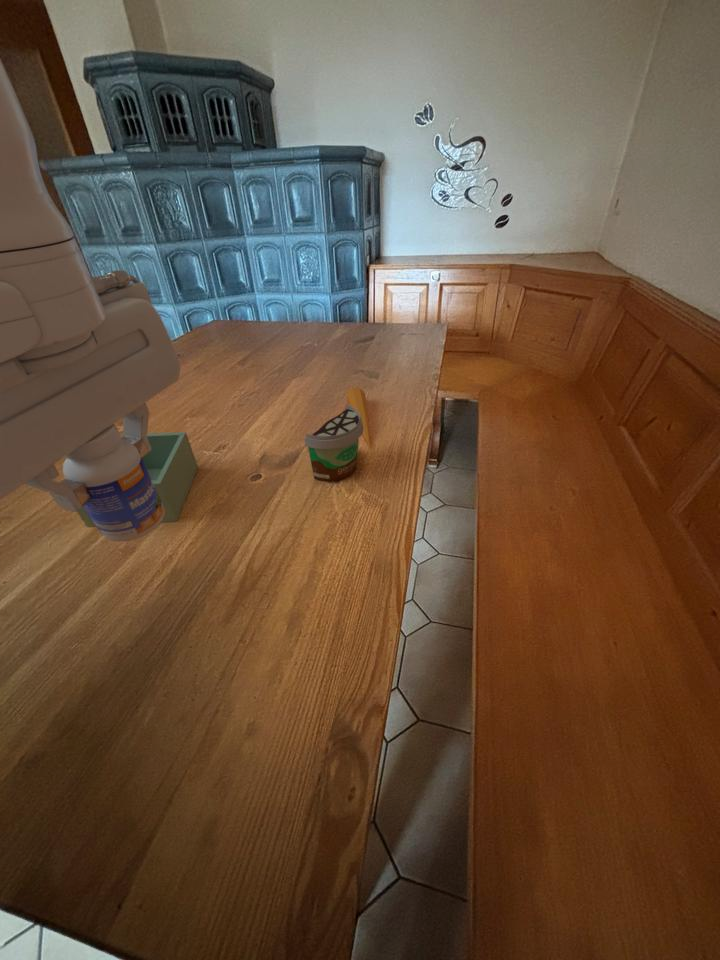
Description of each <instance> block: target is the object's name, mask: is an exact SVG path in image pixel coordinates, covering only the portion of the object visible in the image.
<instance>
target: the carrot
mask: <svg viewBox="0 0 720 960" xmlns="http://www.w3.org/2000/svg"><path fill="white" fill-rule="evenodd" d="M346 404H347V405H349V406H351V407H353V408H354V409H356V410H357V411H358V413H359V415H360V417H361V419H362V423H363V433H362V435H361V436H363V438H364V440H365V442H366V443H367V445H368V447H369V448H370V450H371V449H372V444H371V443H372V442H371V428H370V421H369V420H370V419H369V413H368V412H369V411H368V405H367V397H366V393H365V392H364V390H363V389H361V388H360V387H359V386H356V387H353V386H352V387H351V388H349V390H347V392H346Z"/></svg>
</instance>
